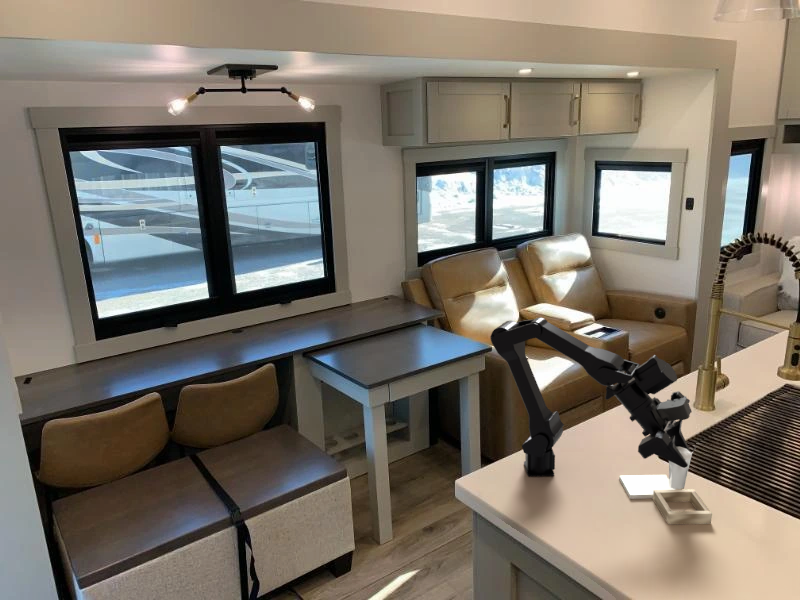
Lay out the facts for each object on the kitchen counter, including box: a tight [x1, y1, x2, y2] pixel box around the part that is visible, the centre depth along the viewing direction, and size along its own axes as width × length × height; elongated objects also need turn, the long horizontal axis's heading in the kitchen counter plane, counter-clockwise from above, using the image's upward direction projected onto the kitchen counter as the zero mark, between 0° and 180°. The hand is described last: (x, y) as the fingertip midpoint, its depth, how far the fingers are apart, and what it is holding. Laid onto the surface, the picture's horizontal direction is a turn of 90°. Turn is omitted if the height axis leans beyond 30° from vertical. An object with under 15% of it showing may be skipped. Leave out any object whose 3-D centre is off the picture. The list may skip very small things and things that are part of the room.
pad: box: [618, 474, 676, 500], centre depth 143 cm, size 11×8×1 cm
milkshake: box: [668, 445, 697, 490], centre depth 133 cm, size 4×5×10 cm
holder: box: [652, 488, 713, 525], centre depth 134 cm, size 9×9×2 cm
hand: (688, 461), depth 132 cm, fingers closed on milkshake, 4 cm apart
